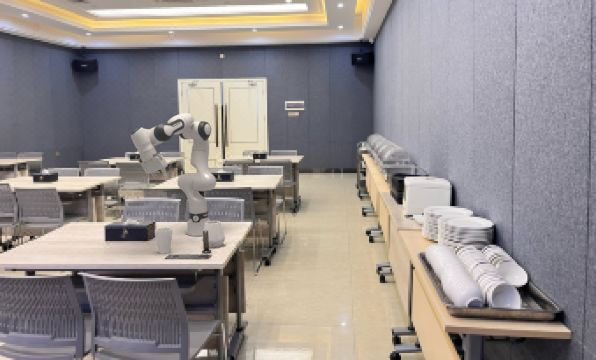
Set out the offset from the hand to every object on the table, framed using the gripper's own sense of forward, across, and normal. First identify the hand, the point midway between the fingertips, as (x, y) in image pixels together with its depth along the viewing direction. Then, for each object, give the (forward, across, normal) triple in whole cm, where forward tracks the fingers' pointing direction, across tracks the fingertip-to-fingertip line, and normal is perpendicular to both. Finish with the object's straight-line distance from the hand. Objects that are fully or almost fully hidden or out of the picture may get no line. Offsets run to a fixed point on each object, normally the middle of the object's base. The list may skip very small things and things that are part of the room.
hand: (161, 177), depth 293 cm
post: (+47, -14, +5) cm, 49 cm away
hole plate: (+43, -15, +17) cm, 48 cm away
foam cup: (+38, +4, +18) cm, 42 cm away
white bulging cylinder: (+49, -4, -6) cm, 50 cm away
